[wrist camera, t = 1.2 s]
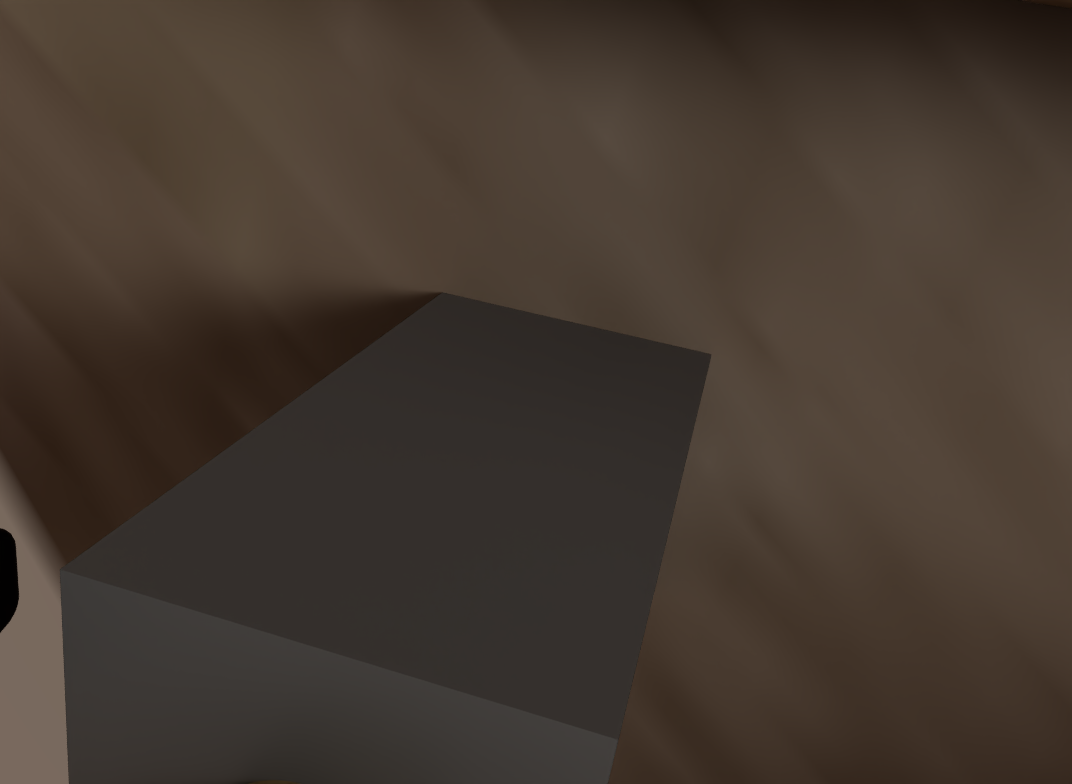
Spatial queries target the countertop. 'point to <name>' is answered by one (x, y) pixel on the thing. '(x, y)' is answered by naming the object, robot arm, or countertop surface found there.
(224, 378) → the countertop surface
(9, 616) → the robot arm
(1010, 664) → the countertop surface
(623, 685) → the grey box with knob
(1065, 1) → the walnut box
